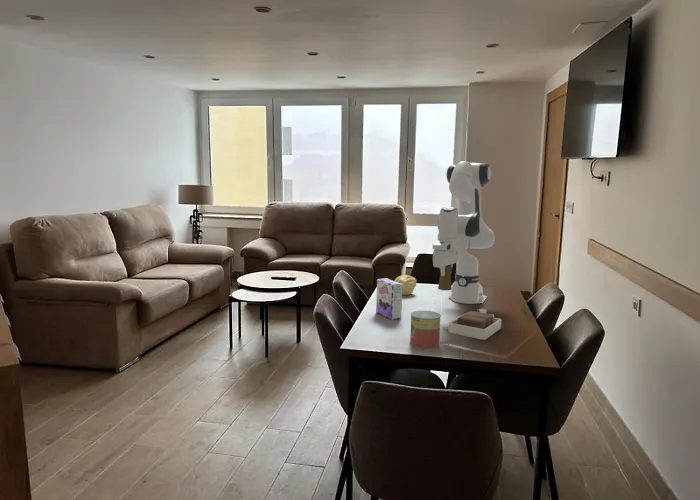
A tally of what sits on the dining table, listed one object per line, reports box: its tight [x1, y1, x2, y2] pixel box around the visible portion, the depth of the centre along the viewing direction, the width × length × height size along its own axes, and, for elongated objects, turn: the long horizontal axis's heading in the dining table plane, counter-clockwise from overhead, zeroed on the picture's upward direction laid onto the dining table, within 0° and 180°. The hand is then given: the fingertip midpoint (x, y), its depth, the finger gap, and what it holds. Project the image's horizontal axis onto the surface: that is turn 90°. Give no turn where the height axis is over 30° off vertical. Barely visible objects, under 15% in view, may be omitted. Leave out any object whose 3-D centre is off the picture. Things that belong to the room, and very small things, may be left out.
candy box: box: [375, 277, 403, 321], centre depth 232 cm, size 14×6×16 cm, turn 27°
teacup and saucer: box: [476, 308, 495, 318], centre depth 234 cm, size 9×8×4 cm
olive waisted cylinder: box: [437, 265, 453, 291], centre depth 223 cm, size 6×6×11 cm
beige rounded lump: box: [394, 274, 417, 296], centre depth 276 cm, size 11×12×11 cm
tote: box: [447, 312, 502, 341], centre depth 210 cm, size 20×16×5 cm
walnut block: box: [457, 310, 494, 329], centre depth 210 cm, size 14×10×6 cm
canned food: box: [409, 310, 442, 351], centre depth 193 cm, size 11×11×12 cm
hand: (445, 274), depth 223 cm, fingers closed on olive waisted cylinder, 4 cm apart
